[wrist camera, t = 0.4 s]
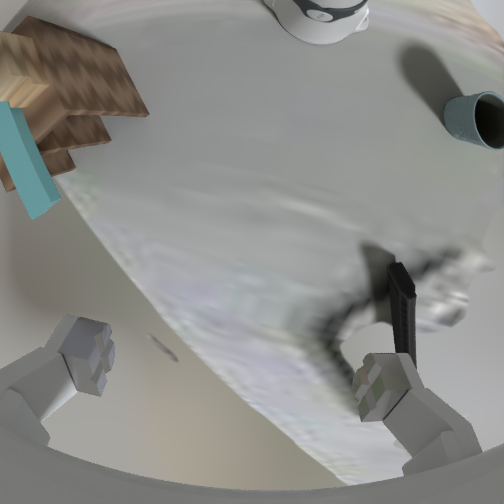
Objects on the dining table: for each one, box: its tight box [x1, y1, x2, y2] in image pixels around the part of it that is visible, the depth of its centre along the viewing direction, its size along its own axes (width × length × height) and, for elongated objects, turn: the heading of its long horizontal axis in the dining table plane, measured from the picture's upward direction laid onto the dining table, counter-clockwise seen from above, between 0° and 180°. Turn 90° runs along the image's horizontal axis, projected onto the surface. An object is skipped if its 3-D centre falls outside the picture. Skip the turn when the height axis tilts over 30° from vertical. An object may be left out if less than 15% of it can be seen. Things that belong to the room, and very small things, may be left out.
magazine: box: [387, 262, 417, 370], centre depth 58 cm, size 17×3×30 cm
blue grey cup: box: [443, 92, 504, 151], centre depth 40 cm, size 10×10×12 cm
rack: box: [0, 16, 149, 192], centre depth 34 cm, size 16×20×32 cm
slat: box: [0, 101, 61, 220], centre depth 25 cm, size 22×4×2 cm, turn 27°
